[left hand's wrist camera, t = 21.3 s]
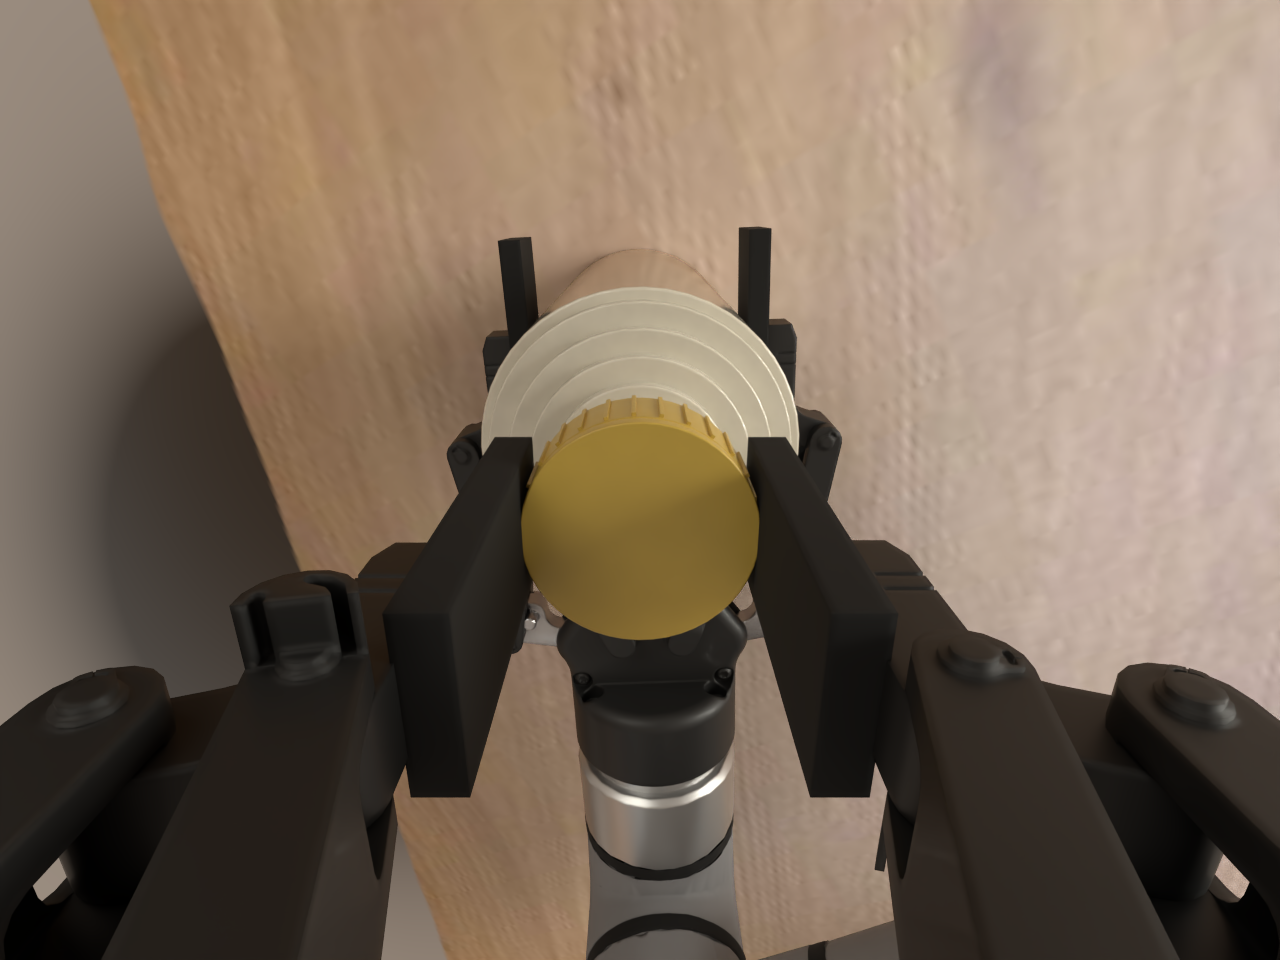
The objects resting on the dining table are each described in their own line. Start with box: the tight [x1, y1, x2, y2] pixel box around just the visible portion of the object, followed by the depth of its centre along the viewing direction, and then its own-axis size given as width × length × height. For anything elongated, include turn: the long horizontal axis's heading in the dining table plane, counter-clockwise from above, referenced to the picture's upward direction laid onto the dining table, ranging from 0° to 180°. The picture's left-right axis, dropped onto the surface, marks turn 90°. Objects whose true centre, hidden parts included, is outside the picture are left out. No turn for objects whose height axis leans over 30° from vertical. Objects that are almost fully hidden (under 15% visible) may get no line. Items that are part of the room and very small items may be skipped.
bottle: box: [481, 249, 799, 466], centre depth 23 cm, size 8×8×21 cm
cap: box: [521, 395, 759, 640], centre depth 13 cm, size 4×4×2 cm
